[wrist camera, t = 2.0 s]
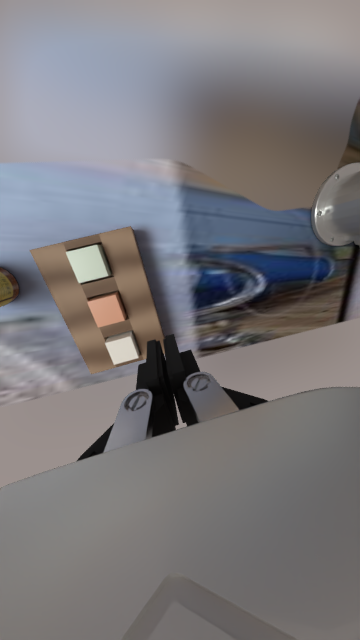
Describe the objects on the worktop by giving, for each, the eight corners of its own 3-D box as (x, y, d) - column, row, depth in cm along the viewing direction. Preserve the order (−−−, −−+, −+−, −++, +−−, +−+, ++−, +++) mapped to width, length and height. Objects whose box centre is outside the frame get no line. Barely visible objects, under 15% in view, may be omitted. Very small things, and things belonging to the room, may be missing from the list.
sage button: (74, 252, 27) (65, 252, 24) (102, 245, 27) (96, 244, 24) (85, 280, 28) (78, 283, 26) (112, 273, 29) (108, 275, 26)
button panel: (45, 250, 29) (29, 250, 25) (133, 229, 29) (130, 226, 26) (97, 361, 36) (91, 374, 32) (166, 342, 37) (167, 352, 33)
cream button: (108, 335, 32) (104, 343, 29) (132, 329, 32) (130, 336, 29) (117, 355, 34) (114, 364, 31) (139, 349, 34) (138, 358, 31)
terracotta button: (93, 297, 29) (86, 302, 27) (118, 291, 30) (115, 294, 27) (102, 321, 31) (98, 327, 28) (127, 314, 31) (124, 320, 28)
